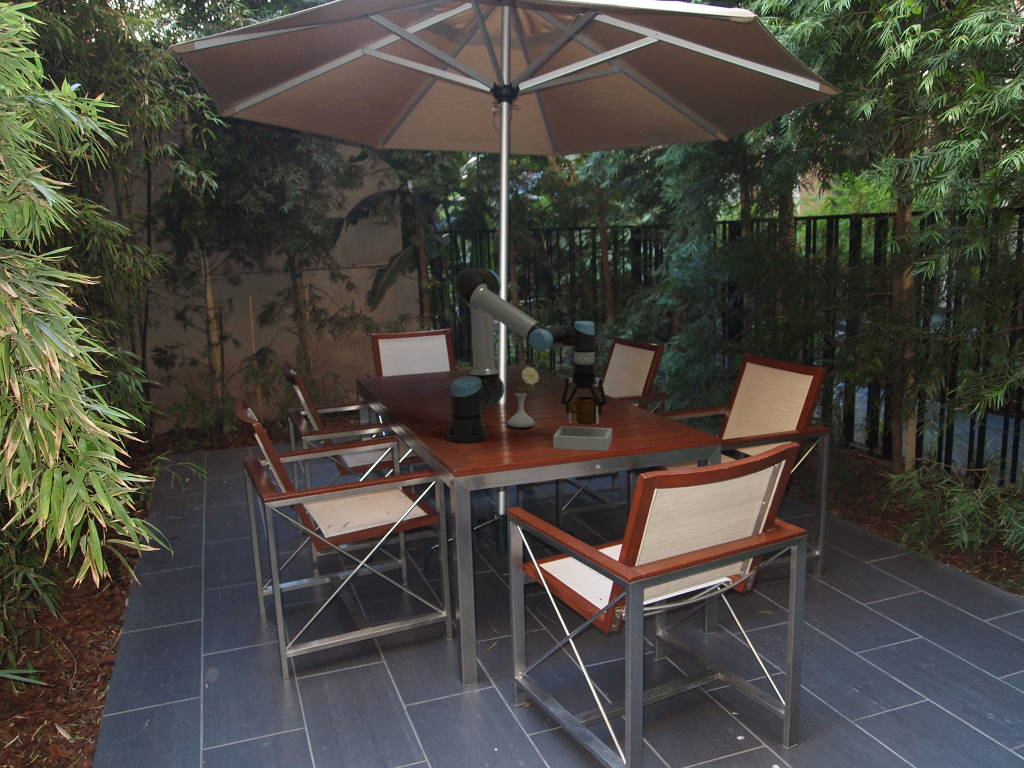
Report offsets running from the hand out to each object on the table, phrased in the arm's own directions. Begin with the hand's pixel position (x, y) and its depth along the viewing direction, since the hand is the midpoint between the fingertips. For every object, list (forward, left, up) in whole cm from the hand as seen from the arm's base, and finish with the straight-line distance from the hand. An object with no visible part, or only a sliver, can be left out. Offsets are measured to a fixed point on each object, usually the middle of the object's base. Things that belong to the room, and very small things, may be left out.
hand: (583, 422), depth 299 cm
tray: (0, 0, -8) cm, 8 cm away
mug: (-1, 0, 0) cm, 1 cm away
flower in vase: (-28, +26, -8) cm, 39 cm away
